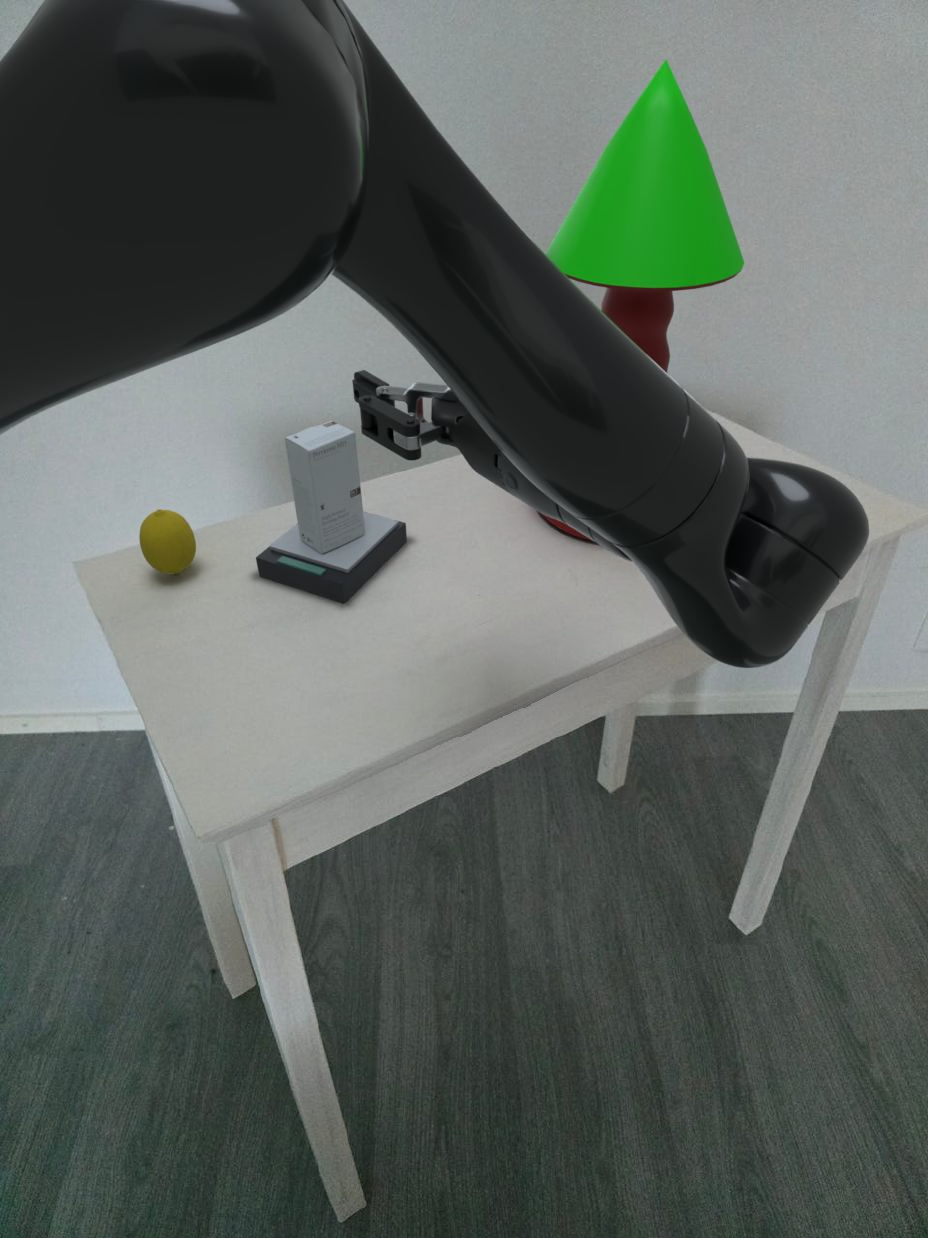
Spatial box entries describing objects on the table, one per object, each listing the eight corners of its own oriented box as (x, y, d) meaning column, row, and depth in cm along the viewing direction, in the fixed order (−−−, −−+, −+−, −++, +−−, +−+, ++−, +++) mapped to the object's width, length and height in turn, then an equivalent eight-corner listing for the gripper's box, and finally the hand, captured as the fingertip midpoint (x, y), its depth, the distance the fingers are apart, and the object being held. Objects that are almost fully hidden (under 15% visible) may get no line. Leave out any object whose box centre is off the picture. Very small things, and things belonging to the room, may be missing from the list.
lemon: (156, 594, 88) (136, 530, 83) (146, 567, 92) (126, 504, 87) (208, 579, 90) (192, 515, 85) (196, 553, 94) (180, 491, 89)
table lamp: (733, 515, 99) (834, 60, 71) (601, 567, 91) (654, 77, 63) (625, 449, 112) (674, 44, 84) (502, 489, 104) (510, 57, 76)
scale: (344, 603, 86) (341, 580, 84) (259, 576, 90) (254, 553, 88) (407, 541, 95) (405, 518, 93) (327, 518, 99) (324, 497, 97)
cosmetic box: (322, 556, 88) (307, 452, 80) (297, 539, 90) (281, 437, 83) (368, 533, 91) (358, 431, 84) (343, 518, 94) (331, 417, 86)
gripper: (635, 363, 54) (480, 299, 64) (458, 424, 47) (318, 342, 57) (622, 466, 59) (480, 392, 69) (460, 535, 52) (330, 441, 62)
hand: (406, 369), depth 63 cm, fingers open, 8 cm apart
